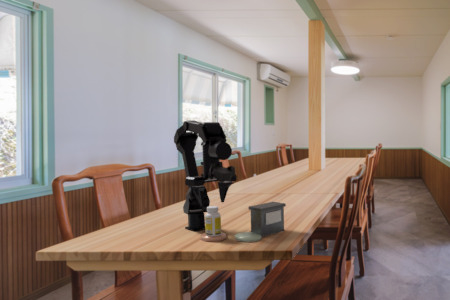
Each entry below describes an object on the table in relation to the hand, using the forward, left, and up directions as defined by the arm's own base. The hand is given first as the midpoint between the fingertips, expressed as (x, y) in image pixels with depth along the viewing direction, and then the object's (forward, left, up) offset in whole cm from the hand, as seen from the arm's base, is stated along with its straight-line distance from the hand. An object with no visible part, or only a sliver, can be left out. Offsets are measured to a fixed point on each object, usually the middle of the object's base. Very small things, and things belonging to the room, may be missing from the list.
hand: (212, 204), depth 128 cm
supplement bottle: (0, 0, -11) cm, 11 cm away
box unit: (+9, +18, -12) cm, 23 cm away
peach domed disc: (0, 0, -12) cm, 12 cm away
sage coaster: (+9, +8, -12) cm, 17 cm away
